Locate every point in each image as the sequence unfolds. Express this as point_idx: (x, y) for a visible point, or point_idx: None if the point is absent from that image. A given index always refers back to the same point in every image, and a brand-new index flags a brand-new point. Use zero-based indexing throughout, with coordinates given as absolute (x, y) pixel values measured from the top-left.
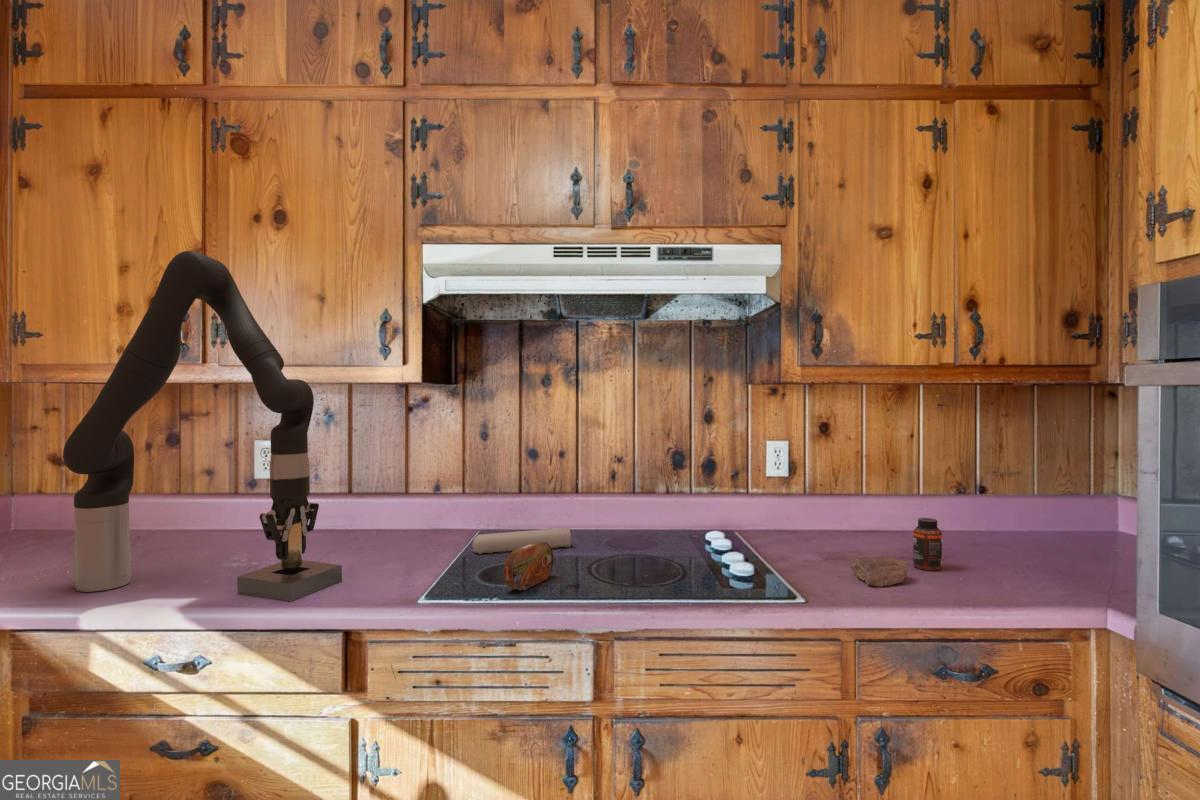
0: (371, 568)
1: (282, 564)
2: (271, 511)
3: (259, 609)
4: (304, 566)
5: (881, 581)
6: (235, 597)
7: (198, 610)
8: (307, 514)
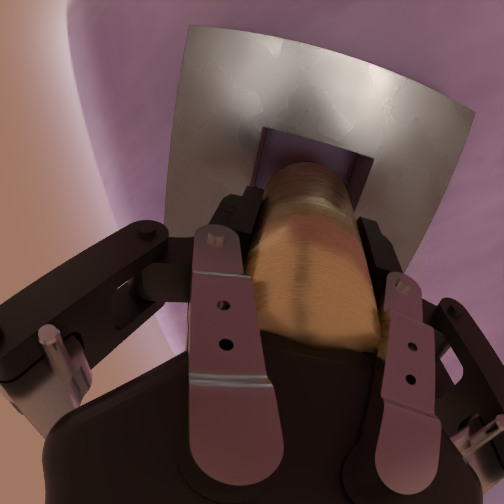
0: (470, 305)
1: (265, 189)
2: (34, 426)
3: (114, 196)
4: (366, 215)
5: None
6: (175, 54)
7: (71, 52)
8: (467, 409)
